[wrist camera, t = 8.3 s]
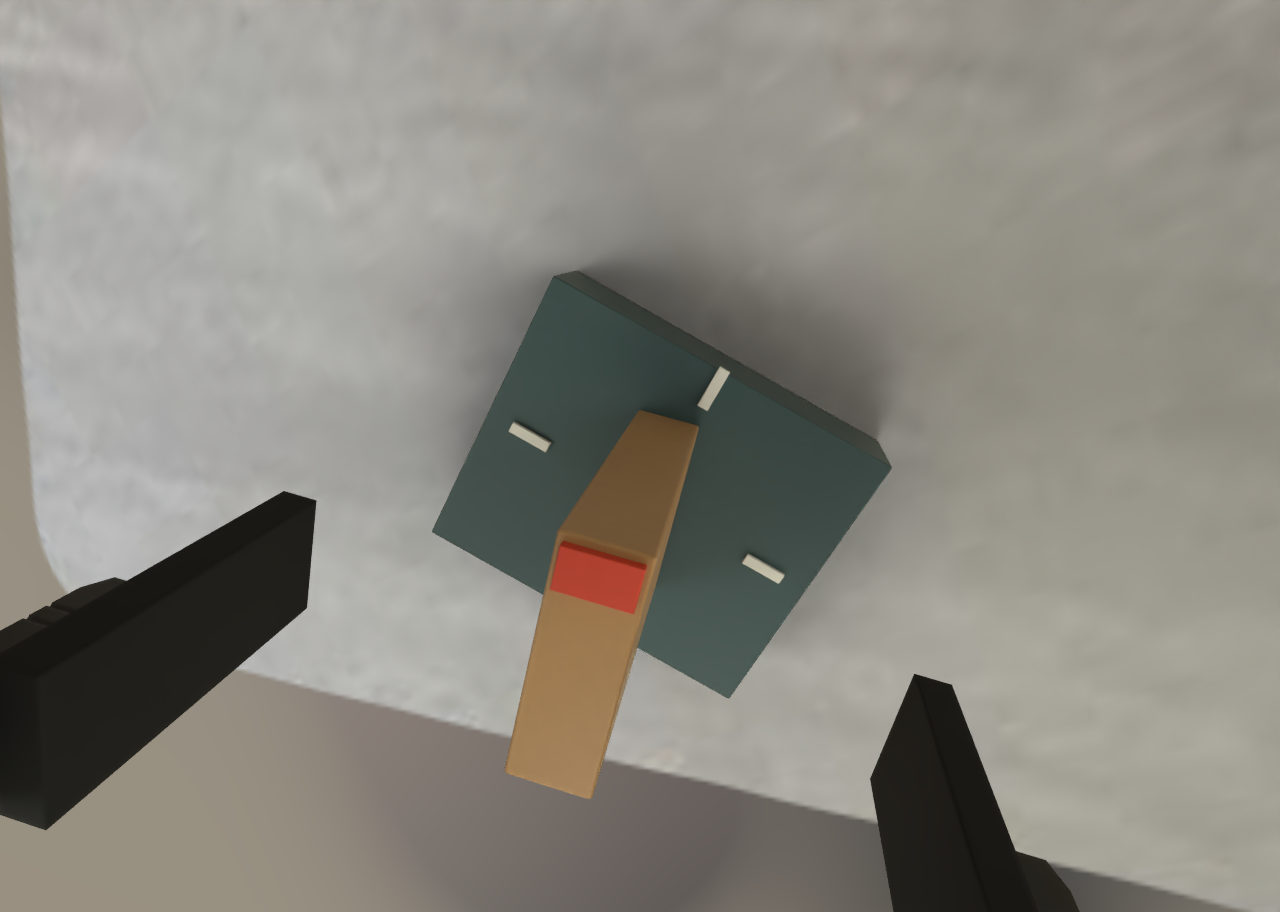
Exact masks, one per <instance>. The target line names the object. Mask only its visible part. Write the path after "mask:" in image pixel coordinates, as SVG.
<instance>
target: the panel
mask: <svg viewBox="0 0 1280 912" xmlns="http://www.w3.org/2000/svg"><path fill="white" fill-rule="evenodd" d="M639 410H642V411H646V412H650V413H653V414H657V415H661V416H664V417H668V418H672V419H675V420H679V421H683V422H686V423H690V424H693V425H697V426H698V427H699V430H698V434H697V437H696V441H695V444H694V448H693V452H692V455H691V459H690V463H689V466H688V470H687V473H686V477H685V481H684V484H683V488H682V492H681V495H680V499H679V503H678V506H677V510H676V513H675V517H674V521H673V524H672V528H671V532H670V535H669V539H668V542H667V546H666V550H665V553H664V557H663V561H662V564H661V568H660V571H659V575H658V579H657V582H656V586H655V589H654V593H653V596H652V599H651V603H650V606H649V610H648V613H647V616H646V620H645V623H644V626H643V630H642V633H641V636H640V640H639V643H638V646H637V648H639V649H641V650H643V651H644V652H646V653H648V654H650V655H652V656H653V657H655V658H657V659H659V660H660V661H662V662H664V663H666V664H668V665H669V666H671V667H673V668H675V669H676V670H678V671H680V672H682V673H684V674H685V675H687V676H689V677H691V678H692V679H694V680H696V681H698V682H700V683H701V684H703V685H705V686H707V687H708V688H710V689H712V690H714V691H716V692H717V693H719V694H721V695H723V696H724V697H726V698H730V697H731V695H732V694H733V692H734V691H735V689H736V688H737V687H738V685H739V684H740V682H741V681H742V680H743V678H744V677H745V675H746V674H747V672H748V671H749V670H750V668H751V667H752V665H753V664H754V663H755V661H756V660H757V658H758V657H759V655H760V654H761V653H762V651H763V650H764V648H765V647H766V646H767V644H768V643H769V641H770V640H771V638H772V637H773V636H774V634H775V633H776V631H777V630H778V629H779V627H780V626H781V624H782V623H783V621H784V620H785V619H786V617H787V616H788V614H789V613H790V612H791V610H792V609H793V607H794V606H795V604H796V603H797V602H798V600H799V599H800V597H801V596H802V595H803V593H804V592H805V590H806V589H807V587H808V586H809V585H810V583H811V582H812V580H813V579H814V578H815V576H816V575H817V573H818V572H819V570H820V569H821V568H822V566H823V565H824V563H825V562H826V561H827V559H828V558H829V556H830V555H831V553H832V552H833V551H834V549H835V548H836V546H837V545H838V544H839V542H840V541H841V539H842V538H843V536H844V535H845V534H846V532H847V531H848V529H849V528H850V527H851V525H852V524H853V522H854V521H855V519H856V518H857V517H858V515H859V514H860V512H861V511H862V510H863V508H864V507H865V505H866V504H867V502H868V501H869V500H870V498H871V497H872V495H873V494H874V493H875V491H876V490H877V488H878V487H879V485H880V484H881V483H882V481H883V480H884V478H885V477H886V476H887V474H888V473H889V471H890V470H891V468H892V467H891V465H890V463H889V461H888V459H887V457H886V455H885V454H884V452H883V450H882V448H881V446H880V444H879V442H878V441H877V440H875V439H873V438H872V437H870V436H868V435H866V434H864V433H863V432H861V431H859V430H857V429H856V428H854V427H852V426H850V425H849V424H847V423H845V422H843V421H842V420H840V419H838V418H836V417H834V416H833V415H831V414H829V413H827V412H826V411H824V410H822V409H820V408H819V407H817V406H815V405H813V404H812V403H810V402H808V401H806V400H804V399H803V398H801V397H799V396H797V395H796V394H794V393H792V392H790V391H789V390H787V389H785V388H783V387H782V386H780V385H778V384H776V383H774V382H773V381H771V380H769V379H767V378H766V377H764V376H762V375H760V374H759V373H757V372H755V371H753V370H752V369H750V368H748V367H746V366H744V365H743V364H741V363H739V362H737V361H736V360H734V359H732V358H730V357H729V356H727V355H725V354H723V353H722V352H720V351H718V350H716V349H714V348H713V347H711V346H709V345H707V344H706V343H704V342H702V341H700V340H699V339H697V338H695V337H693V336H692V335H690V334H688V333H686V332H684V331H683V330H681V329H679V328H677V327H676V326H674V325H672V324H670V323H669V322H667V321H665V320H663V319H661V318H660V317H658V316H656V315H654V314H653V313H651V312H649V311H647V310H646V309H644V308H642V307H640V306H639V305H637V304H635V303H633V302H631V301H630V300H628V299H626V298H624V297H623V296H621V295H619V294H617V293H616V292H614V291H612V290H610V289H609V288H607V287H605V286H603V285H601V284H600V283H598V282H596V281H594V280H593V279H591V278H589V277H587V276H586V275H584V274H582V273H580V272H579V271H573V272H569V273H565V274H561V275H557V276H554V277H553V278H552V281H551V283H550V285H549V287H548V289H547V291H546V293H545V295H544V297H543V299H542V302H541V304H540V306H539V308H538V310H537V312H536V314H535V316H534V318H533V320H532V322H531V325H530V327H529V329H528V331H527V333H526V335H525V337H524V339H523V341H522V343H521V346H520V348H519V350H518V352H517V354H516V356H515V358H514V360H513V362H512V364H511V366H510V369H509V371H508V373H507V375H506V377H505V379H504V381H503V383H502V385H501V387H500V390H499V392H498V394H497V396H496V398H495V400H494V402H493V404H492V406H491V408H490V410H489V413H488V415H487V417H486V419H485V421H484V423H483V425H482V427H481V429H480V431H479V434H478V436H477V438H476V440H475V442H474V444H473V446H472V448H471V450H470V452H469V454H468V457H467V459H466V461H465V463H464V465H463V467H462V469H461V471H460V473H459V475H458V478H457V480H456V482H455V484H454V486H453V488H452V490H451V492H450V494H449V496H448V498H447V501H446V503H445V505H444V507H443V509H442V511H441V513H440V515H439V517H438V519H437V522H436V524H435V526H434V528H433V530H432V532H433V533H435V534H436V535H438V536H440V537H442V538H444V539H445V540H447V541H449V542H451V543H452V544H454V545H456V546H458V547H460V548H461V549H463V550H465V551H467V552H468V553H470V554H472V555H474V556H476V557H477V558H479V559H481V560H483V561H484V562H486V563H488V564H490V565H492V566H493V567H495V568H497V569H499V570H500V571H502V572H504V573H506V574H508V575H509V576H511V577H513V578H515V579H516V580H518V581H520V582H522V583H524V584H525V585H527V586H529V587H531V588H532V589H534V590H536V591H538V592H540V593H541V594H543V595H544V590H545V585H546V581H547V576H548V572H549V567H550V563H551V558H552V554H553V549H554V545H555V540H556V536H557V531H558V529H559V528H560V526H561V525H562V524H563V522H564V521H565V519H566V518H567V516H568V515H569V513H570V512H571V510H572V509H573V507H574V506H575V504H576V503H577V501H578V500H579V498H580V497H581V495H582V494H583V492H584V491H585V489H586V488H587V486H588V485H589V483H590V482H591V481H592V479H593V478H594V476H595V475H596V473H597V472H598V470H599V469H600V467H601V466H602V464H603V463H604V461H605V460H606V458H607V457H608V455H609V454H610V452H611V451H612V449H613V448H614V446H615V445H616V443H617V442H618V440H619V439H620V438H621V436H622V435H623V433H624V432H625V430H626V429H627V427H628V426H629V424H630V423H631V421H632V420H633V418H634V417H635V415H636V414H637V412H638V411H639Z"/></svg>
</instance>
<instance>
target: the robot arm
mask: <svg viewBox="0 0 1280 912" xmlns="http://www.w3.org/2000/svg"><path fill="white" fill-rule="evenodd" d="M315 510H316V500H313V499H309V498H306V497H302V496H299V495H296V494H292V493H289V492H285V491H283V492H281V493H280V494H278V495H276V496H274V497H273V498H271V499H269V500H267V501H266V502H264V503H262V504H260V505H259V506H257V507H255V508H253V509H252V510H250V511H248V512H246V513H245V514H243V515H241V516H239V517H238V518H236V519H234V520H232V521H231V522H229V523H227V524H225V525H224V526H222V527H220V528H218V529H217V530H215V531H213V532H211V533H210V534H208V535H206V536H204V537H203V538H201V539H199V540H197V541H196V542H194V543H192V544H190V545H189V546H187V547H185V548H183V549H182V550H180V551H178V552H176V553H175V554H173V555H171V556H169V557H168V558H166V559H164V560H162V561H161V562H159V563H157V564H155V565H154V566H152V567H150V568H148V569H147V570H145V571H143V572H141V573H140V574H138V575H136V576H134V577H133V578H131V579H129V580H127V581H125V580H122V579H118V578H115V577H114V578H111V579H108V580H104V581H101V582H97V583H94V584H90V585H87V586H84V587H80V588H78V589H76V590H75V591H73V592H71V593H69V594H67V595H65V596H63V597H62V598H60V599H58V600H56V601H54V602H53V603H52V605H51V606H50V607H49V606H45V607H43V608H41V609H40V610H38V611H36V612H34V613H32V614H30V615H29V617H28V618H27V619H21V620H19V621H17V622H16V623H14V624H12V625H10V626H8V627H6V628H4V629H3V630H1V631H0V815H2V816H5V817H8V818H11V819H14V820H17V821H20V822H23V823H26V824H29V825H32V826H35V827H38V828H41V829H44V830H47V829H48V828H49V827H50V826H52V825H53V824H54V823H55V822H56V821H57V820H59V819H60V818H61V817H62V816H63V815H64V814H66V813H67V812H68V811H69V810H70V809H71V808H73V807H74V806H75V805H76V804H77V803H78V802H80V801H81V800H82V799H83V798H84V797H86V796H87V795H88V794H89V793H90V792H92V791H93V790H94V789H95V788H96V787H97V786H98V785H100V784H101V783H102V782H103V781H104V780H105V779H107V778H108V777H109V776H110V775H111V774H113V773H114V772H115V771H116V770H117V769H119V768H120V767H121V766H122V765H123V764H124V763H126V762H127V761H128V760H129V759H130V758H131V757H133V756H134V755H135V754H136V753H137V752H138V751H140V750H141V749H142V748H143V747H144V746H146V745H147V744H148V743H149V742H150V741H151V740H153V739H154V738H155V737H156V736H157V735H158V734H160V733H161V732H162V731H163V730H164V729H165V728H167V727H168V726H169V725H170V724H171V723H173V722H174V721H175V720H176V719H177V718H178V717H179V716H181V715H182V714H183V713H184V712H185V711H187V710H188V709H189V708H190V707H191V706H192V705H194V704H195V703H196V702H197V701H198V700H199V699H201V698H202V697H203V696H204V695H205V694H207V693H208V692H209V691H210V690H211V689H212V688H214V687H215V686H216V685H217V684H218V683H219V682H221V681H222V680H223V679H224V678H225V677H227V676H228V675H229V674H230V673H231V672H232V671H234V670H235V669H236V668H237V667H238V666H239V665H241V664H242V663H243V662H244V661H245V660H246V659H248V658H249V657H250V656H251V655H252V654H254V653H255V652H256V651H257V650H258V649H259V648H261V647H262V646H263V645H264V644H265V643H266V642H268V641H269V640H270V639H271V638H272V637H273V636H275V635H276V634H277V633H278V632H279V631H281V630H282V629H283V628H284V627H285V626H286V625H288V624H289V623H290V622H291V621H292V620H293V619H295V618H296V617H297V616H298V615H299V614H300V613H302V612H303V611H304V610H305V609H306V608H307V601H308V589H309V578H310V567H311V555H312V544H313V533H314V522H315ZM870 780H871V786H872V792H873V797H874V803H875V809H876V814H877V820H878V826H879V831H880V837H881V843H882V849H883V854H884V859H885V865H886V871H887V877H888V883H889V888H890V894H891V900H892V905H893V911H894V912H1079V910H1078V907H1077V905H1076V903H1075V900H1074V898H1073V896H1072V894H1071V892H1070V890H1069V889H1068V888H1067V886H1066V885H1065V884H1064V882H1063V881H1062V880H1061V879H1060V877H1059V876H1058V875H1057V874H1056V872H1055V871H1054V870H1053V869H1052V867H1051V866H1050V865H1049V864H1048V862H1047V861H1046V860H1043V859H1040V858H1037V857H1033V856H1030V855H1027V854H1023V853H1020V852H1017V851H1015V848H1014V846H1013V843H1012V841H1011V838H1010V835H1009V833H1008V830H1007V827H1006V825H1005V822H1004V820H1003V817H1002V814H1001V812H1000V809H999V807H998V804H997V801H996V799H995V796H994V794H993V791H992V788H991V786H990V783H989V781H988V778H987V775H986V773H985V770H984V767H983V765H982V762H981V760H980V757H979V754H978V752H977V749H976V747H975V744H974V741H973V739H972V736H971V734H970V731H969V728H968V726H967V723H966V721H965V718H964V715H963V713H962V710H961V707H960V705H959V702H958V700H957V697H956V694H955V692H954V689H953V687H952V685H951V684H947V683H944V682H940V681H937V680H933V679H930V678H927V677H923V676H920V675H916V674H914V676H913V678H912V681H911V683H910V685H909V688H908V690H907V693H906V695H905V697H904V700H903V702H902V704H901V707H900V709H899V712H898V714H897V716H896V719H895V721H894V723H893V726H892V728H891V731H890V733H889V735H888V738H887V740H886V742H885V745H884V747H883V750H882V752H881V754H880V757H879V759H878V762H877V764H876V766H875V769H874V771H873V773H872V776H871V778H870Z"/></svg>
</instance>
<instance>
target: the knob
mask: <svg viewBox="0 0 1280 912" xmlns="http://www.w3.org/2000/svg"><path fill="white" fill-rule="evenodd" d="M698 430H699V427H698V426H697V425H693V424H690V423H686V422H683V421H679V420H675V419H672V418H668V417H664V416H661V415H657V414H653V413H650V412H646V411H642V410H639V411H638V412H637V414H636V415H635V417H634V418H633V420H632V421H631V423H630V424H629V426H628V427H627V429H626V430H625V432H624V433H623V435H622V436H621V438H620V439H619V440H618V442H617V443H616V445H615V446H614V448H613V449H612V451H611V452H610V454H609V455H608V457H607V458H606V460H605V461H604V463H603V464H602V466H601V467H600V469H599V470H598V472H597V473H596V475H595V476H594V478H593V479H592V481H591V482H590V483H589V485H588V486H587V488H586V489H585V491H584V492H583V494H582V495H581V497H580V498H579V500H578V501H577V503H576V504H575V506H574V507H573V509H572V510H571V512H570V513H569V515H568V516H567V518H566V519H565V521H564V522H563V524H562V525H561V526H560V528H559V529H558V531H557V536H556V540H555V545H554V549H553V554H552V558H551V563H550V567H549V572H548V576H547V581H546V585H545V590H544V595H543V599H542V604H541V608H540V613H539V617H538V622H537V626H536V631H535V635H534V640H533V644H532V649H531V653H530V658H529V662H528V667H527V671H526V676H525V680H524V685H523V689H522V694H521V698H520V703H519V707H518V712H517V716H516V721H515V725H514V730H513V734H512V739H511V743H510V748H509V753H508V757H507V761H506V766H505V772H506V773H507V774H510V775H514V776H517V777H520V778H523V779H526V780H530V781H533V782H536V783H539V784H542V785H545V786H549V787H552V788H555V789H558V790H561V791H564V792H567V793H571V794H574V795H577V796H580V797H583V798H586V799H590V798H591V797H592V796H593V793H594V790H595V786H596V783H597V780H598V777H599V773H600V770H601V767H602V763H603V760H604V757H605V753H606V750H607V747H608V743H609V740H610V737H611V733H612V730H613V726H614V723H615V720H616V716H617V713H618V710H619V706H620V703H621V700H622V696H623V693H624V690H625V686H626V683H627V680H628V676H629V673H630V670H631V666H632V663H633V660H634V656H635V653H636V650H637V646H638V643H639V640H640V636H641V633H642V630H643V626H644V623H645V620H646V616H647V613H648V610H649V606H650V603H651V599H652V596H653V593H654V589H655V586H656V582H657V579H658V575H659V571H660V568H661V564H662V561H663V557H664V553H665V550H666V546H667V542H668V539H669V535H670V532H671V528H672V524H673V521H674V517H675V513H676V510H677V506H678V503H679V499H680V495H681V492H682V488H683V484H684V481H685V477H686V473H687V470H688V466H689V463H690V459H691V455H692V452H693V448H694V444H695V441H696V437H697V434H698Z"/></svg>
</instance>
